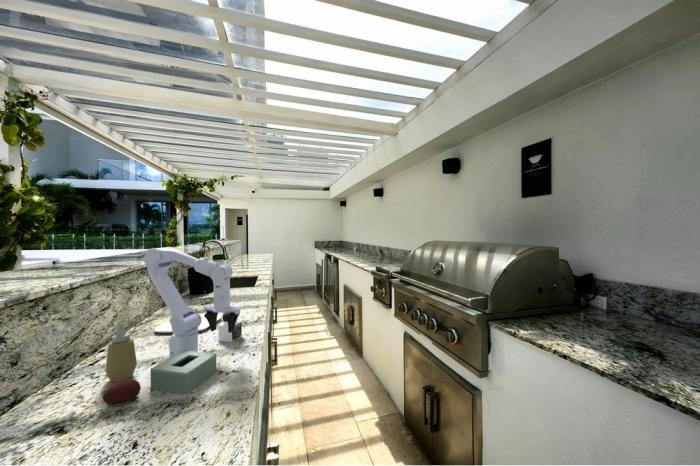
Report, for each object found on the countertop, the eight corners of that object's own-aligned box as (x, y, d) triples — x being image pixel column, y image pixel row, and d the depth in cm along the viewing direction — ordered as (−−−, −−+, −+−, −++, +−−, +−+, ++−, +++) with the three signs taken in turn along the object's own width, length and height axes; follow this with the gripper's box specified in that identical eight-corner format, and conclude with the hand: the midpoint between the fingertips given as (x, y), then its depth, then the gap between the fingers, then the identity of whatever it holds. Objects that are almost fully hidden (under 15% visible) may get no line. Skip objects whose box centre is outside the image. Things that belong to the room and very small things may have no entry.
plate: (200, 335, 127) (200, 330, 127) (148, 335, 128) (148, 330, 128) (225, 318, 152) (225, 314, 152) (181, 318, 153) (181, 314, 153)
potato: (109, 397, 80) (109, 377, 80) (144, 391, 83) (143, 371, 83) (98, 413, 73) (98, 391, 73) (136, 405, 77) (136, 384, 76)
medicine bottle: (232, 342, 119) (232, 315, 119) (217, 341, 120) (217, 314, 120) (242, 336, 126) (241, 310, 126) (228, 335, 127) (228, 309, 127)
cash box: (150, 389, 84) (150, 368, 84) (184, 368, 97) (184, 350, 97) (186, 394, 82) (186, 373, 81) (216, 372, 94) (216, 353, 94)
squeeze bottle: (142, 373, 93) (142, 321, 93) (116, 386, 86) (115, 329, 85) (126, 369, 96) (126, 319, 96) (99, 382, 88) (98, 326, 88)
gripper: (197, 297, 103) (198, 333, 103) (232, 299, 100) (232, 336, 100) (211, 293, 110) (211, 327, 110) (243, 295, 107) (243, 329, 107)
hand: (222, 331), depth 106 cm, fingers open, 7 cm apart
